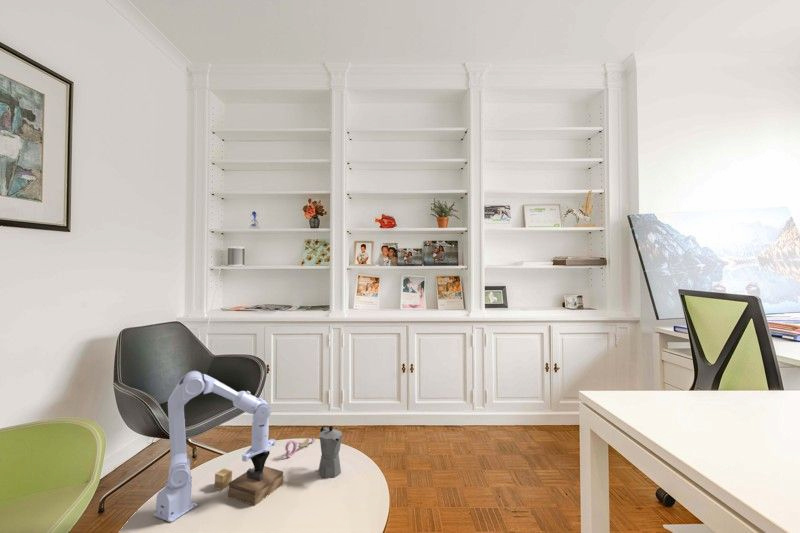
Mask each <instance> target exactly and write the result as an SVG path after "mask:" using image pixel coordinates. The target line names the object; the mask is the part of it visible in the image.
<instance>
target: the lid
mask: <svg viewBox="0 0 800 533" xmlns="http://www.w3.org/2000/svg"><path fill="white" fill-rule="evenodd" d="M281 475H283V476H284V471H283V470H279V469H276V468H272V467H268V466H266V465H264V468H263V472H261V471H257V470H255V468H254V467H252V468H248V469H247V470H246V471H245V472H244V473H242V474H241V475H239V476H237V477H236V478H234V479H232V481H231V482H230V483H229V486H231V487H234V488H237V489H240V490H243V491H246V492H249V493H252V494H256V493H258V492H259V491H261V490H262V489H263V488H265V487H266V486H267V485H269V484H270V483H272V482H273V481H274V480H276V479H277V478H279V477H280V476H281ZM229 486H228V487H229Z"/></svg>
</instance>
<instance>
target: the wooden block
mask: <svg viewBox="0 0 800 533" xmlns="http://www.w3.org/2000/svg"><path fill="white" fill-rule="evenodd" d="M231 481H233V470H230V469H227V468H223V469H221V470H219V471H217V472H215V474H214V488H215V489H218V490H222V491H224V490H225V489H227V488H229V483H230V482H231Z"/></svg>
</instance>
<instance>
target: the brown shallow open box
mask: <svg viewBox="0 0 800 533" xmlns="http://www.w3.org/2000/svg"><path fill="white" fill-rule="evenodd" d="M282 484H283V485H284V474H283V475H281V476H280V477H279V478H277V479H276V480H274V481H273V482H272V483H270V484H269V485H267V486H266V487H265V488H263V489H262V490H261V491H259V492H258V493H256V494H252V493H249V492H246V491H243V490H240V489H237V488H234V487H231V486H228V495H227V496H228V497H229V498H232V499H234V498H235V499H234V500H237V499H238V501H240V500H241V501H240V502H243V501H244V502H243V503H246V502H247V503H246V504H249V503H250V504H249V505H252V506H256V505H257V504H259V503H260V502H262V501H263V500H264V499H265V498H267V497H268V496H269V495H271V494H272V493H274V492H275V491H276V490H277V489H279V488H280V487H282V486H283V485H282ZM274 490H275V491H274ZM270 493H271V494H270ZM267 495H268V496H267ZM266 496H267V497H266ZM263 498H264V499H263ZM262 499H263V500H262ZM258 502H259V503H258Z"/></svg>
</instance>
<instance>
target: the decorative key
mask: <svg viewBox="0 0 800 533" xmlns="http://www.w3.org/2000/svg"><path fill="white" fill-rule="evenodd" d="M316 440H317V439H316V438H314V437H311V439H310V438H309V437H306V439H305V440H304V441H302V442H297V441H294V440H288V441H287V442H286V444H285V447H284V448H285V449H284V450H285V451H286V452H285V457H286V458H289V457H290V456H292V455H293V456H294V454H295V453H296V452H297V451H298V449H297V447H298V448H301V447H304V446H305V447H306V446H308V447H309V443H311V444H314V442H316ZM291 444H293V447H292V451H291V450H289V447H290V445H291ZM293 456H292V457H293ZM290 458H291V457H290ZM290 458H289V459H290Z"/></svg>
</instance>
